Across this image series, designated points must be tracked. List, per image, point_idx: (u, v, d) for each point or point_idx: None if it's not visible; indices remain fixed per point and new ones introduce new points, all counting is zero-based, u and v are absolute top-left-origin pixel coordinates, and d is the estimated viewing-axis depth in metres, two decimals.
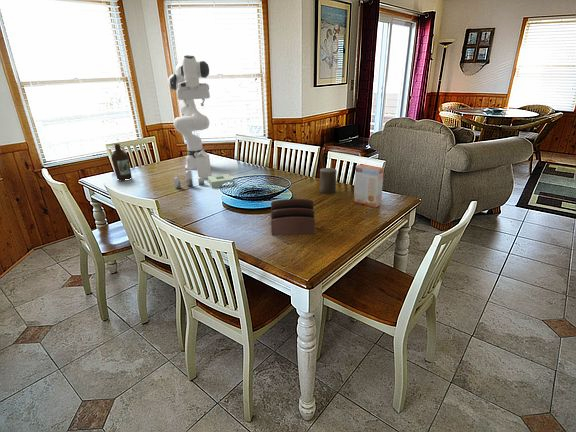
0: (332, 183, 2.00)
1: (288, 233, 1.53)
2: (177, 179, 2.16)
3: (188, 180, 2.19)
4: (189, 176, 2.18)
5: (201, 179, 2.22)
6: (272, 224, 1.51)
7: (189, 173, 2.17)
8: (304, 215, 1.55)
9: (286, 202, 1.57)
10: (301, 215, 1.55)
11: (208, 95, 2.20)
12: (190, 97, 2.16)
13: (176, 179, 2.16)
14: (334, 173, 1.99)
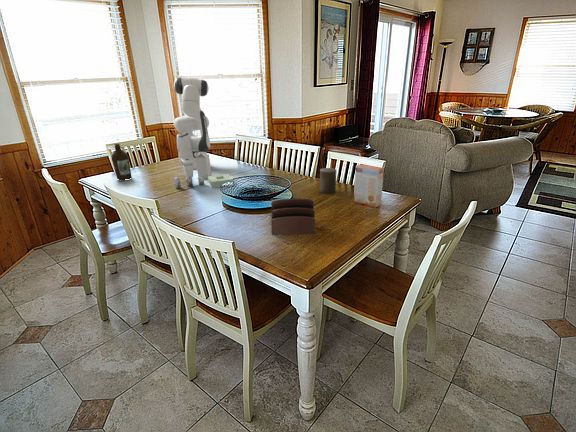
0: (332, 183, 2.00)
1: (288, 233, 1.54)
2: (177, 179, 2.16)
3: None
4: None
5: (201, 179, 2.22)
6: (272, 223, 1.52)
7: None
8: (304, 215, 1.55)
9: (286, 201, 1.57)
10: (301, 215, 1.55)
11: None
12: None
13: (176, 179, 2.16)
14: (334, 173, 1.99)
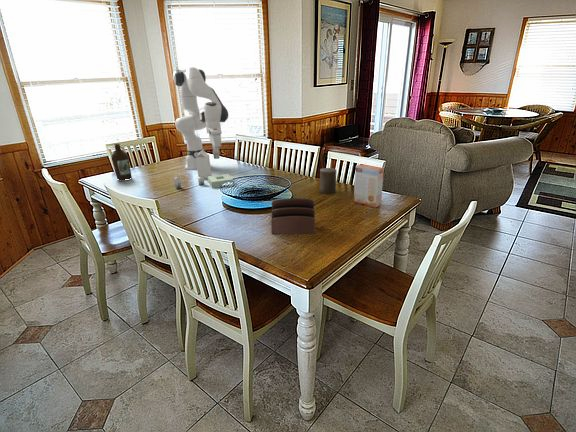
0: (332, 183, 2.00)
1: (288, 233, 1.54)
2: (177, 179, 2.16)
3: None
4: None
5: (201, 179, 2.22)
6: (272, 223, 1.52)
7: None
8: (304, 214, 1.55)
9: (286, 201, 1.58)
10: (301, 214, 1.56)
11: None
12: None
13: (176, 179, 2.16)
14: (334, 173, 1.99)
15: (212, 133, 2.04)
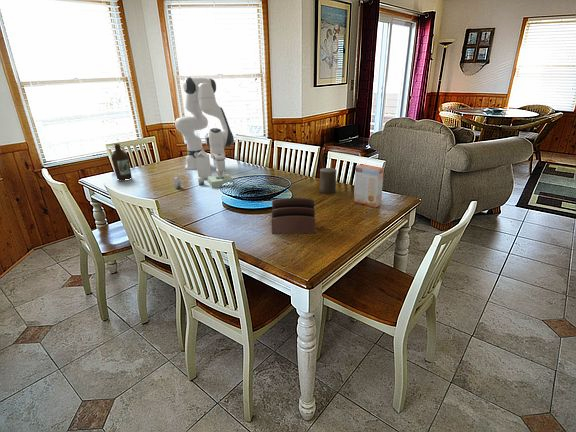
0: (332, 183, 2.00)
1: (289, 232, 1.54)
2: (177, 179, 2.16)
3: (219, 177, 2.23)
4: None
5: (201, 179, 2.22)
6: (272, 222, 1.53)
7: None
8: (304, 214, 1.56)
9: (286, 201, 1.58)
10: (301, 214, 1.56)
11: None
12: None
13: (176, 179, 2.16)
14: (334, 173, 1.99)
15: (216, 159, 2.11)
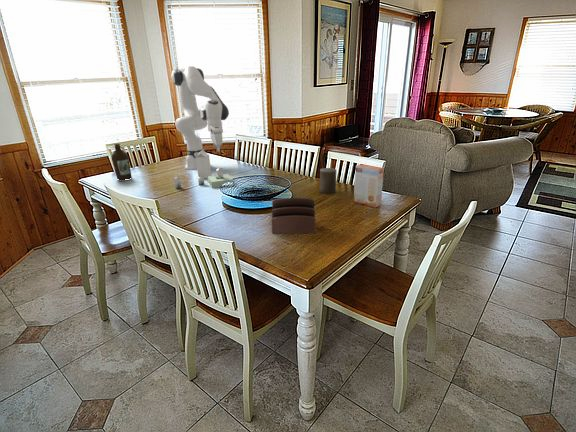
0: (332, 183, 2.00)
1: (289, 232, 1.55)
2: (177, 179, 2.16)
3: (219, 177, 2.23)
4: (220, 173, 2.22)
5: (201, 179, 2.22)
6: (273, 222, 1.53)
7: (220, 170, 2.21)
8: (305, 214, 1.56)
9: (287, 200, 1.58)
10: (302, 214, 1.56)
11: None
12: None
13: (176, 179, 2.16)
14: (334, 173, 1.99)
15: (213, 131, 2.06)
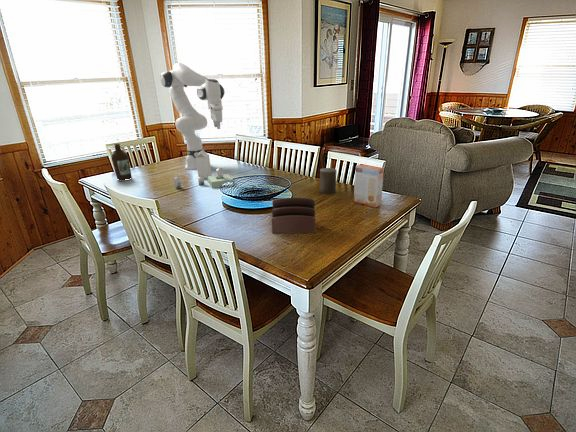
0: (332, 183, 2.00)
1: (289, 232, 1.55)
2: (177, 179, 2.16)
3: (219, 177, 2.23)
4: (220, 173, 2.22)
5: (201, 179, 2.22)
6: (273, 222, 1.53)
7: (220, 170, 2.21)
8: (305, 214, 1.56)
9: (287, 200, 1.58)
10: (302, 214, 1.56)
11: None
12: None
13: (176, 179, 2.16)
14: (334, 173, 1.99)
15: (213, 108, 2.13)
